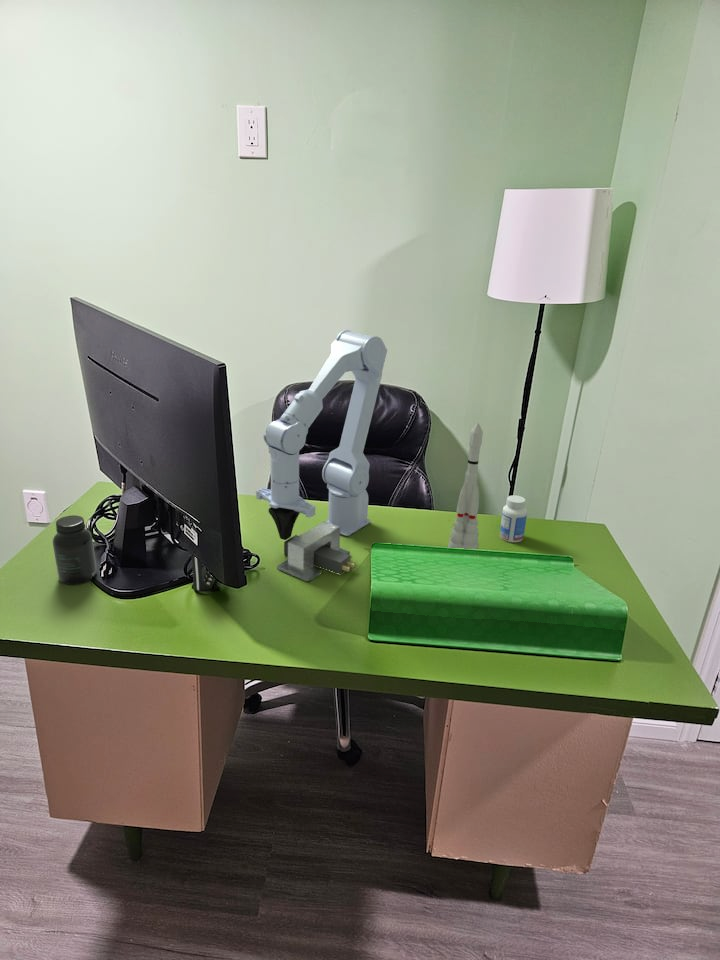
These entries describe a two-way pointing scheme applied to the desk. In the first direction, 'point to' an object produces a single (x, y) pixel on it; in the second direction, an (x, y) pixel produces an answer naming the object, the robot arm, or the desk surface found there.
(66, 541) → the supplement bottle
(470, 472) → the rocket model
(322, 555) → the plug
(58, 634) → the desk surface
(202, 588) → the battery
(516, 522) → the pill bottle
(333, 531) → the mounting bracket
